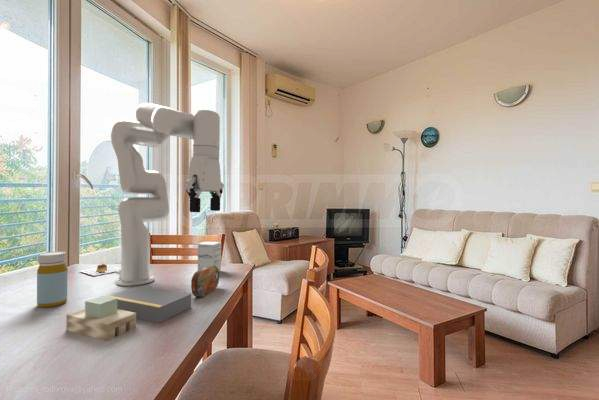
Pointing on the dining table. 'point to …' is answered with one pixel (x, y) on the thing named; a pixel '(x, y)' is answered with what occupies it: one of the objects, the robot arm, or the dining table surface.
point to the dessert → (100, 269)
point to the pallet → (101, 324)
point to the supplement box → (209, 255)
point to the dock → (152, 302)
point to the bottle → (52, 279)
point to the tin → (205, 281)
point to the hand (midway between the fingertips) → (205, 211)
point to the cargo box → (100, 307)
